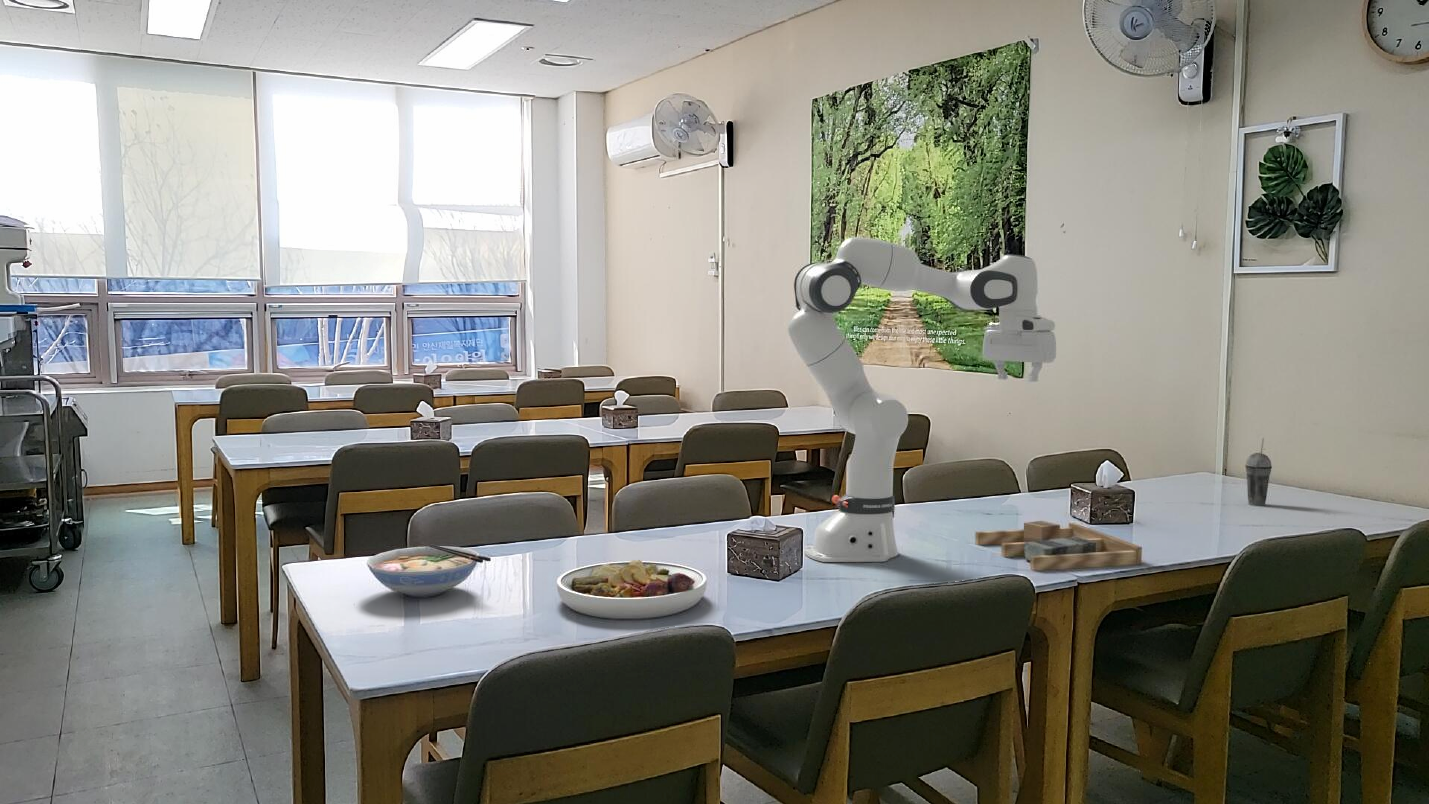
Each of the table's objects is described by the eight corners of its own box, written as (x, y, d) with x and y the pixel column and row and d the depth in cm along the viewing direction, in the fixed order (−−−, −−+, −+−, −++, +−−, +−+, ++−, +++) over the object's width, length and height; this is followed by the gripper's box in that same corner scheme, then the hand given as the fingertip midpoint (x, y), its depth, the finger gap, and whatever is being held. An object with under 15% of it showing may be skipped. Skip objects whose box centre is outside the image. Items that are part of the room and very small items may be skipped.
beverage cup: (1237, 503, 329) (1240, 437, 327) (1257, 501, 331) (1260, 436, 329) (1256, 507, 322) (1259, 440, 320) (1276, 506, 324) (1279, 439, 322)
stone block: (1020, 561, 256) (1020, 539, 256) (1071, 556, 261) (1071, 534, 261) (1044, 569, 248) (1044, 546, 247) (1096, 564, 253) (1096, 542, 252)
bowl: (525, 608, 216) (525, 569, 215) (620, 576, 241) (620, 541, 240) (646, 633, 199) (646, 591, 199) (734, 597, 224) (734, 559, 223)
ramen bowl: (344, 591, 227) (343, 553, 226) (442, 572, 243) (441, 536, 242) (404, 616, 209) (403, 574, 208) (505, 594, 225) (504, 555, 224)
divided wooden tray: (1033, 570, 245) (1034, 553, 245) (975, 543, 273) (975, 527, 273) (1141, 564, 252) (1142, 547, 251) (1073, 538, 279) (1074, 522, 279)
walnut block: (1041, 551, 265) (1041, 527, 264) (1023, 546, 270) (1024, 522, 270) (1059, 548, 268) (1059, 524, 267) (1041, 544, 273) (1041, 520, 272)
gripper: (976, 322, 268) (976, 378, 269) (1042, 323, 251) (1041, 383, 252) (994, 322, 272) (994, 377, 273) (1060, 322, 254) (1060, 381, 256)
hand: (1017, 380), depth 262 cm, fingers open, 8 cm apart
